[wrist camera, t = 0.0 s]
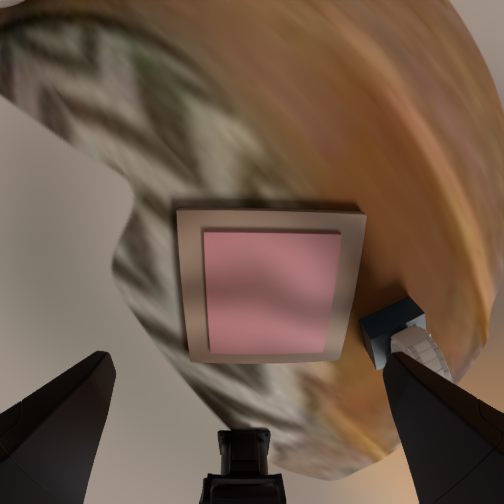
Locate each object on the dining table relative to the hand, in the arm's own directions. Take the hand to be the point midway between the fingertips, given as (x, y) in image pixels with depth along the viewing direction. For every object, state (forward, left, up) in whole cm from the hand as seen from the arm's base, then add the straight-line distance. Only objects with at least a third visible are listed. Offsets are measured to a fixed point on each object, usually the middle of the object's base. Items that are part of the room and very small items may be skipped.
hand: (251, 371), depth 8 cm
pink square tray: (-5, -2, -15) cm, 16 cm away
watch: (-9, -14, -15) cm, 22 cm away
